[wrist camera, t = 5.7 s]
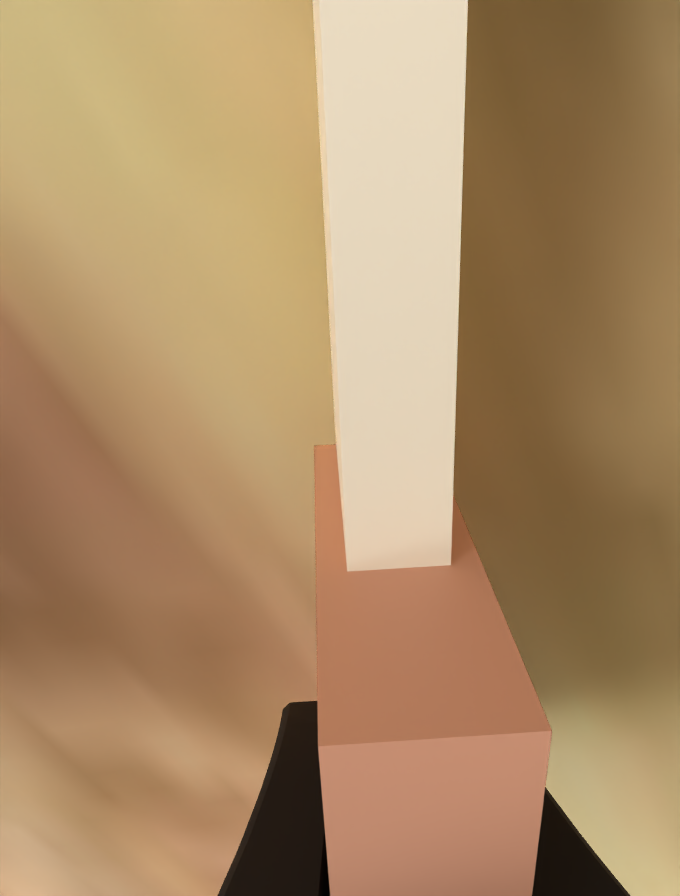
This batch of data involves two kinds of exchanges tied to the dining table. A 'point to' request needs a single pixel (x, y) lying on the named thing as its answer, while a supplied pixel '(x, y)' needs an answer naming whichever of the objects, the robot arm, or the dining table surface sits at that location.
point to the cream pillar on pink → (407, 492)
